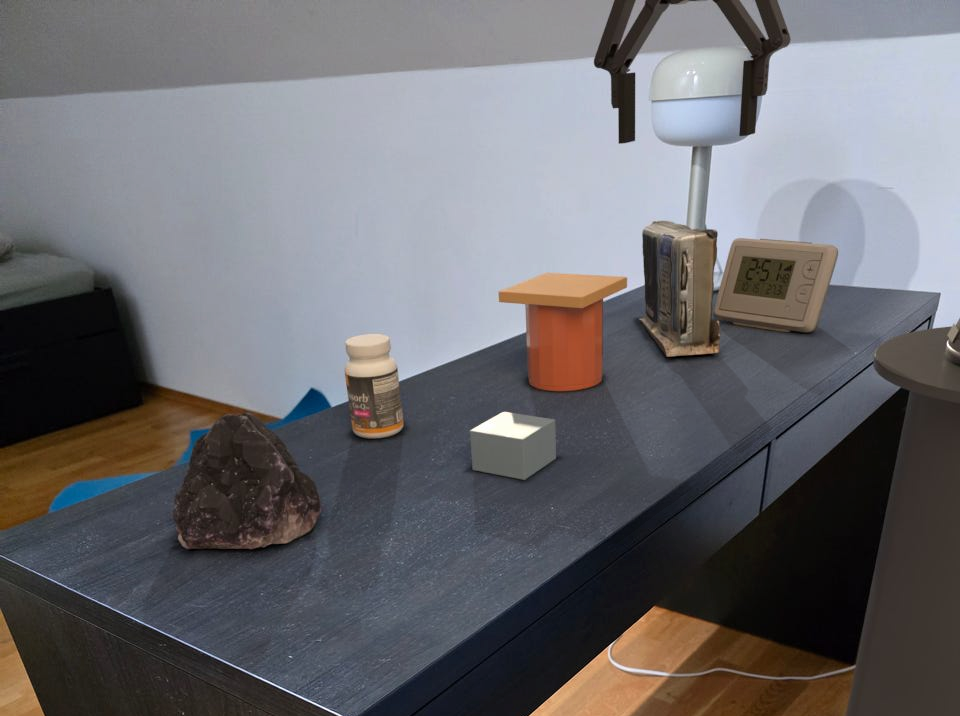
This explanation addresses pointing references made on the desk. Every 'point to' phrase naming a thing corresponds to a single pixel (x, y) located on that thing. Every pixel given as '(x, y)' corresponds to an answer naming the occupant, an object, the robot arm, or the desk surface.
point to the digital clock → (775, 284)
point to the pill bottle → (373, 387)
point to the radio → (680, 288)
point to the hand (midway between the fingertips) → (684, 139)
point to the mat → (563, 290)
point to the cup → (564, 346)
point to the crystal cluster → (243, 489)
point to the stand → (513, 445)
